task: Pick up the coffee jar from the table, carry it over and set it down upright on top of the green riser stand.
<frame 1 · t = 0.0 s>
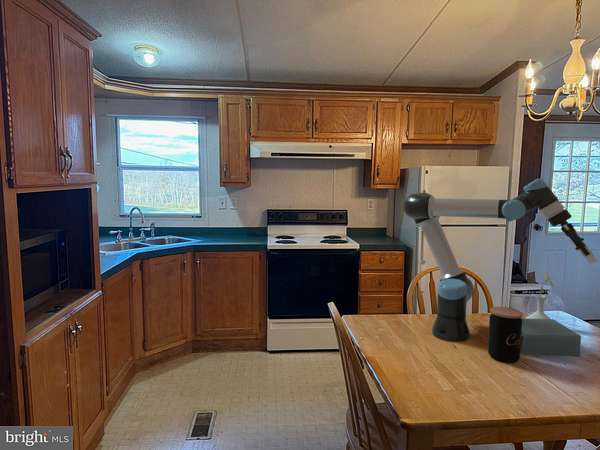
hand: (592, 259, 146), 36 cm above the table, tool tilted 35°, fingers open, 13 cm apart
flower in vase: (539, 325, 176), on the table
coffee jar: (503, 358, 143), on the table
green riser stand: (538, 345, 153), on the table
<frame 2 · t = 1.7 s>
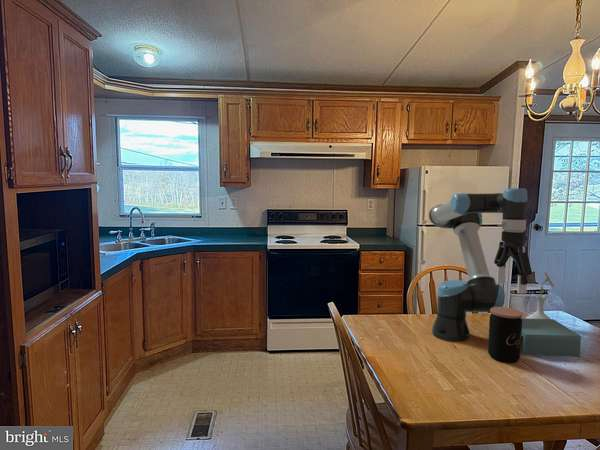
hand: (510, 288, 140), 27 cm above the table, tool pointing down, fingers open, 13 cm apart
nothing on the table moved.
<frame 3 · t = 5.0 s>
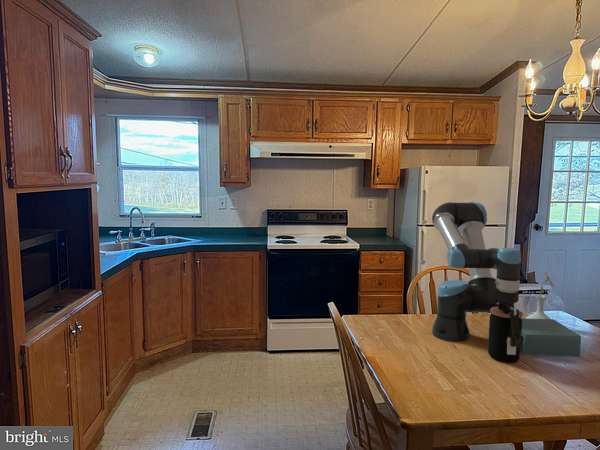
hand: (504, 347, 142), 4 cm above the table, tool pointing down, fingers closed on coffee jar, 11 cm apart
coffee jar: (503, 358, 143), on the table, touching gripper
everything else where it was.
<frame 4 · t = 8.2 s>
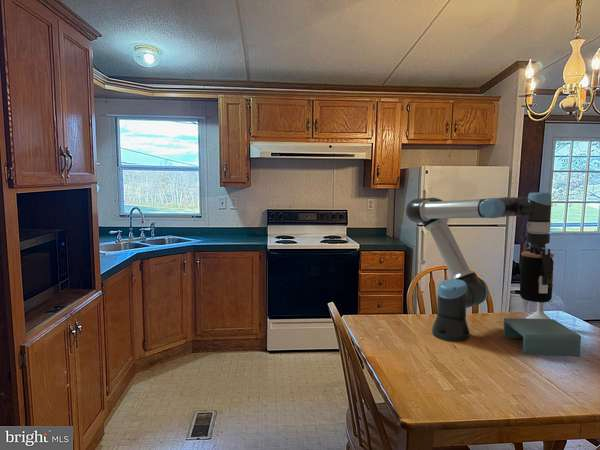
hand: (535, 289, 148), 24 cm above the table, tool pointing down, fingers closed on coffee jar, 11 cm apart
coffee jar: (535, 299, 148), point 20 cm above the table, touching gripper
everything else where it was.
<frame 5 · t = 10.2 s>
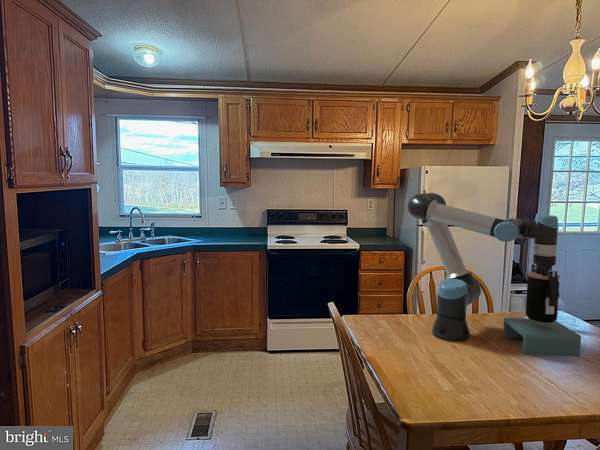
hand: (541, 309, 152), 15 cm above the table, tool pointing down, fingers closed on coffee jar, 11 cm apart
coffee jar: (540, 319, 152), point 11 cm above the table, touching gripper
everything else where it was.
when the fingers open (14 cm above the table, at t = 11.5 s): coffee jar drops 2 cm, resting on green riser stand.
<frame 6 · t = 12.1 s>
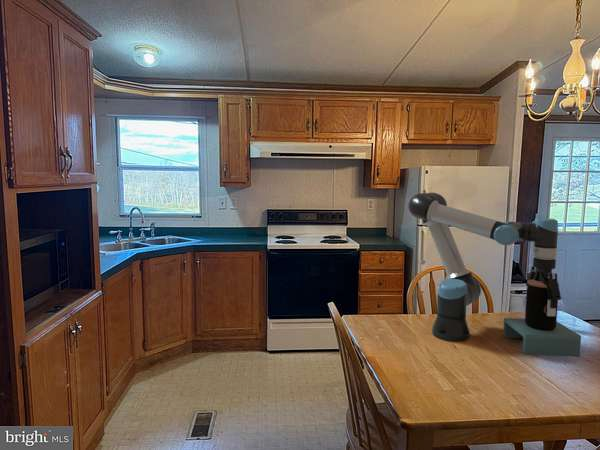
hand: (541, 310, 152), 15 cm above the table, tool pointing down, fingers open, 13 cm apart
coffee jar: (539, 326, 152), point 8 cm above the table, touching green riser stand
everything else where it was.
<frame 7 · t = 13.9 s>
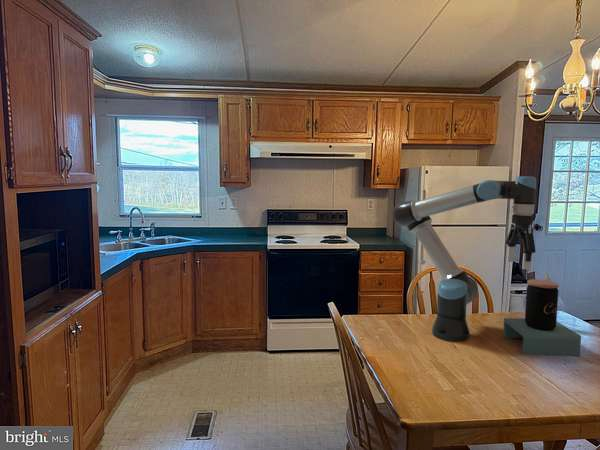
hand: (518, 265, 158), 31 cm above the table, tool pointing down, fingers open, 13 cm apart
nothing on the table moved.
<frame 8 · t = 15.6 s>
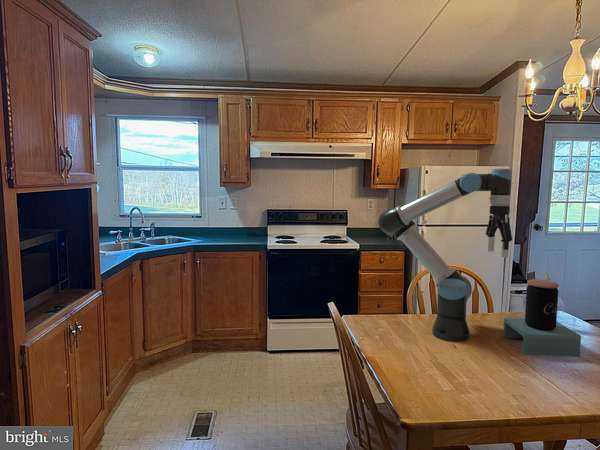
hand: (497, 254, 164), 35 cm above the table, tool pointing down, fingers open, 13 cm apart
nothing on the table moved.
at the end: coffee jar inside the target area on the green riser stand (0.0 cm from its centre), point 7.8 cm above the green riser stand's base; coffee jar tilted 0°; the gripper is holding nothing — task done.
